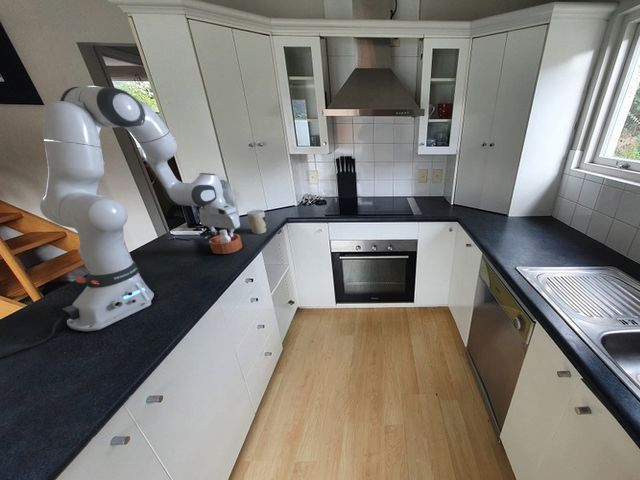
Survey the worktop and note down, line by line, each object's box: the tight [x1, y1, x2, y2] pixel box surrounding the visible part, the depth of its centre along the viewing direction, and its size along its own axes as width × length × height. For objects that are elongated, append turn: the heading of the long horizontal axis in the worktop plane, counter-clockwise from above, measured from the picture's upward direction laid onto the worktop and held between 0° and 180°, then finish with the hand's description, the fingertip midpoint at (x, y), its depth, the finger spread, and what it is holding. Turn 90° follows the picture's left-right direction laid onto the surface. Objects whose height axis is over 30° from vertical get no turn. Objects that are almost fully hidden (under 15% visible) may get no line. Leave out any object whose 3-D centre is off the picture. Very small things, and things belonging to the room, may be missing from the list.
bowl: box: [208, 232, 243, 255], centre depth 137 cm, size 14×14×6 cm
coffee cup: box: [246, 209, 267, 235], centre depth 158 cm, size 9×9×12 cm
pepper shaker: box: [218, 229, 231, 243], centre depth 136 cm, size 4×4×10 cm
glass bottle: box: [220, 179, 240, 218], centre depth 162 cm, size 10×10×28 cm
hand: (223, 235), depth 134 cm, fingers open, 8 cm apart
